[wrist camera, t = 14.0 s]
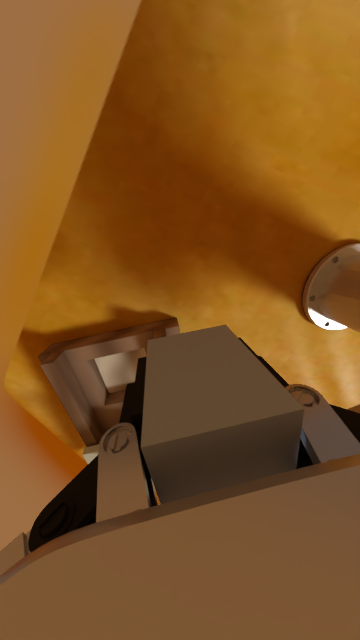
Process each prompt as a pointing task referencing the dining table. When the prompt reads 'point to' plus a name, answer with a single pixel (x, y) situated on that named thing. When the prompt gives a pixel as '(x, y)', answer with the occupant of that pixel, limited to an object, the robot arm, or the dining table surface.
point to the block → (214, 415)
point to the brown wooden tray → (99, 374)
